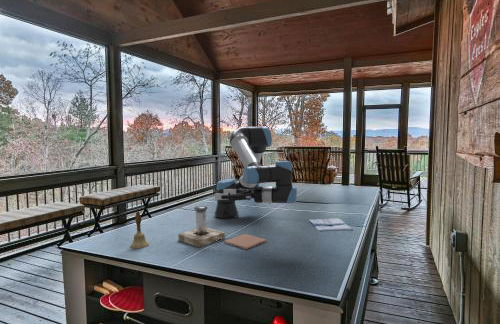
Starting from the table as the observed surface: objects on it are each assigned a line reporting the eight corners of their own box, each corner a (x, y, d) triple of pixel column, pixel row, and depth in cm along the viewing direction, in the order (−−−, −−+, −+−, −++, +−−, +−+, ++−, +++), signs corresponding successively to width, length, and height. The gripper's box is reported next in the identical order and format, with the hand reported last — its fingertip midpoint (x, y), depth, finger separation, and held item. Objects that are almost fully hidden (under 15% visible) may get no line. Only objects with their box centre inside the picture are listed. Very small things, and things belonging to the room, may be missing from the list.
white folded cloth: (340, 221, 178) (340, 217, 178) (353, 231, 158) (353, 227, 158) (308, 222, 178) (308, 218, 177) (317, 232, 157) (317, 228, 157)
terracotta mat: (244, 235, 152) (244, 233, 152) (266, 241, 143) (266, 239, 143) (224, 243, 142) (224, 241, 142) (246, 249, 133) (246, 247, 132)
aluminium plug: (202, 236, 153) (201, 205, 152) (211, 238, 148) (210, 206, 147) (192, 239, 148) (191, 207, 147) (200, 242, 144) (199, 209, 143)
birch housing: (203, 232, 159) (203, 226, 159) (224, 238, 149) (224, 232, 149) (178, 240, 148) (178, 234, 147) (199, 247, 137) (199, 240, 137)
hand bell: (129, 249, 136) (127, 214, 135) (131, 243, 144) (129, 210, 143) (148, 247, 138) (147, 213, 137) (149, 241, 146) (148, 209, 145)
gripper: (258, 208, 128) (211, 207, 133) (267, 197, 153) (227, 197, 157) (258, 190, 128) (210, 190, 132) (267, 183, 152) (226, 182, 156)
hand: (219, 194), depth 144 cm, fingers open, 13 cm apart
